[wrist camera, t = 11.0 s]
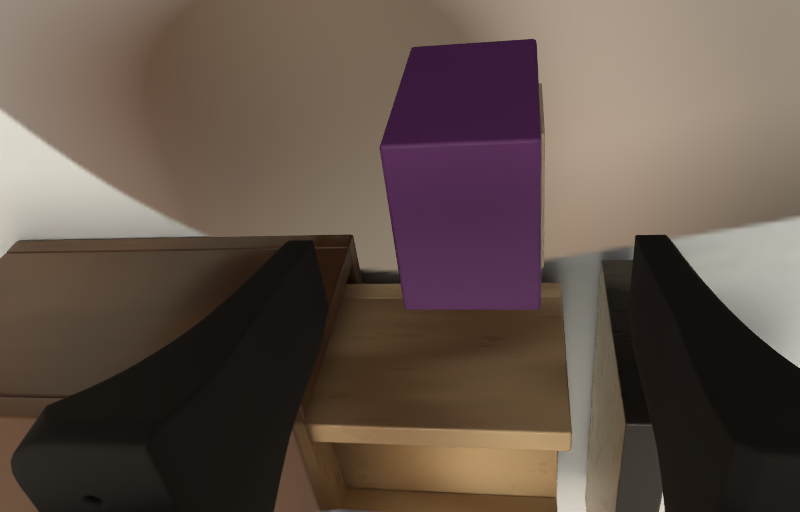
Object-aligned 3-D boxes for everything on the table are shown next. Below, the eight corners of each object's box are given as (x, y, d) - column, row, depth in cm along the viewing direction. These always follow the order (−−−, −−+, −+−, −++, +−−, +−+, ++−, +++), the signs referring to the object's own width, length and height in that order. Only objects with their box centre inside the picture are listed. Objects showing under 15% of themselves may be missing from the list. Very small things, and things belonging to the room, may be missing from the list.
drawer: (795, 257, 22) (883, 431, 17) (726, 503, 30) (770, 673, 25) (275, 263, 25) (210, 411, 20) (339, 484, 33) (305, 632, 28)
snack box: (539, 187, 23) (545, 311, 18) (427, 190, 23) (404, 311, 19) (539, 37, 20) (546, 139, 15) (410, 46, 20) (378, 145, 16)
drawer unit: (353, 233, 25) (291, 426, 18) (401, 478, 34) (372, 670, 27) (16, 239, 27) (-147, 412, 21) (143, 466, 36) (57, 639, 29)
